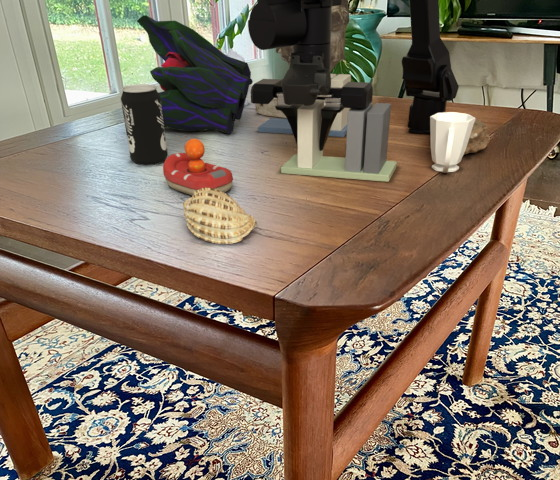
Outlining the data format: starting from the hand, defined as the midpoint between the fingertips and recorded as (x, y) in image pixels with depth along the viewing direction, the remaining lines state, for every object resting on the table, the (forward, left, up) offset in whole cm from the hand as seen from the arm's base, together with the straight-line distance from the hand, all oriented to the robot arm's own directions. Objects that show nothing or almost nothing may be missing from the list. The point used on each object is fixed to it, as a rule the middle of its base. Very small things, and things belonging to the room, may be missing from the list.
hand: (310, 149), depth 97 cm
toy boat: (+14, +15, -3) cm, 21 cm away
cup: (-22, -4, -3) cm, 23 cm away
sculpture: (+12, -41, -3) cm, 43 cm away
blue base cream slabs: (+8, -25, -3) cm, 26 cm away
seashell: (+4, +30, -3) cm, 30 cm away
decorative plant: (+33, -20, -3) cm, 39 cm away
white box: (0, 0, -2) cm, 2 cm away
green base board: (-5, 0, -3) cm, 6 cm away
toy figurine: (+31, -44, -3) cm, 54 cm away
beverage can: (+29, +3, -3) cm, 29 cm away
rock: (-23, -17, -3) cm, 29 cm away
